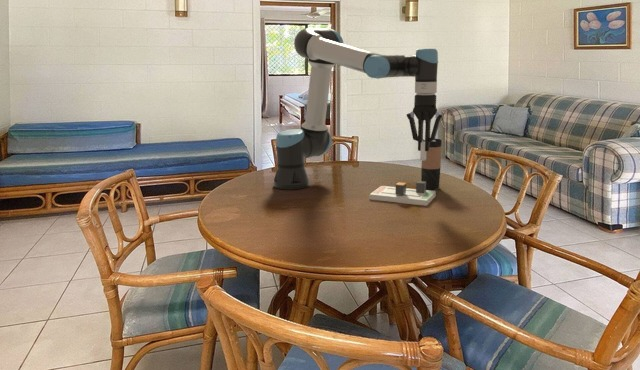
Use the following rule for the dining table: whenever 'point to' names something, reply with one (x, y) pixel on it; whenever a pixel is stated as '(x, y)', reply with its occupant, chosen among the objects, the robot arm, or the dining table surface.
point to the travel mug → (432, 165)
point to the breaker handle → (400, 188)
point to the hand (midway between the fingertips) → (423, 159)
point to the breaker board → (405, 195)
